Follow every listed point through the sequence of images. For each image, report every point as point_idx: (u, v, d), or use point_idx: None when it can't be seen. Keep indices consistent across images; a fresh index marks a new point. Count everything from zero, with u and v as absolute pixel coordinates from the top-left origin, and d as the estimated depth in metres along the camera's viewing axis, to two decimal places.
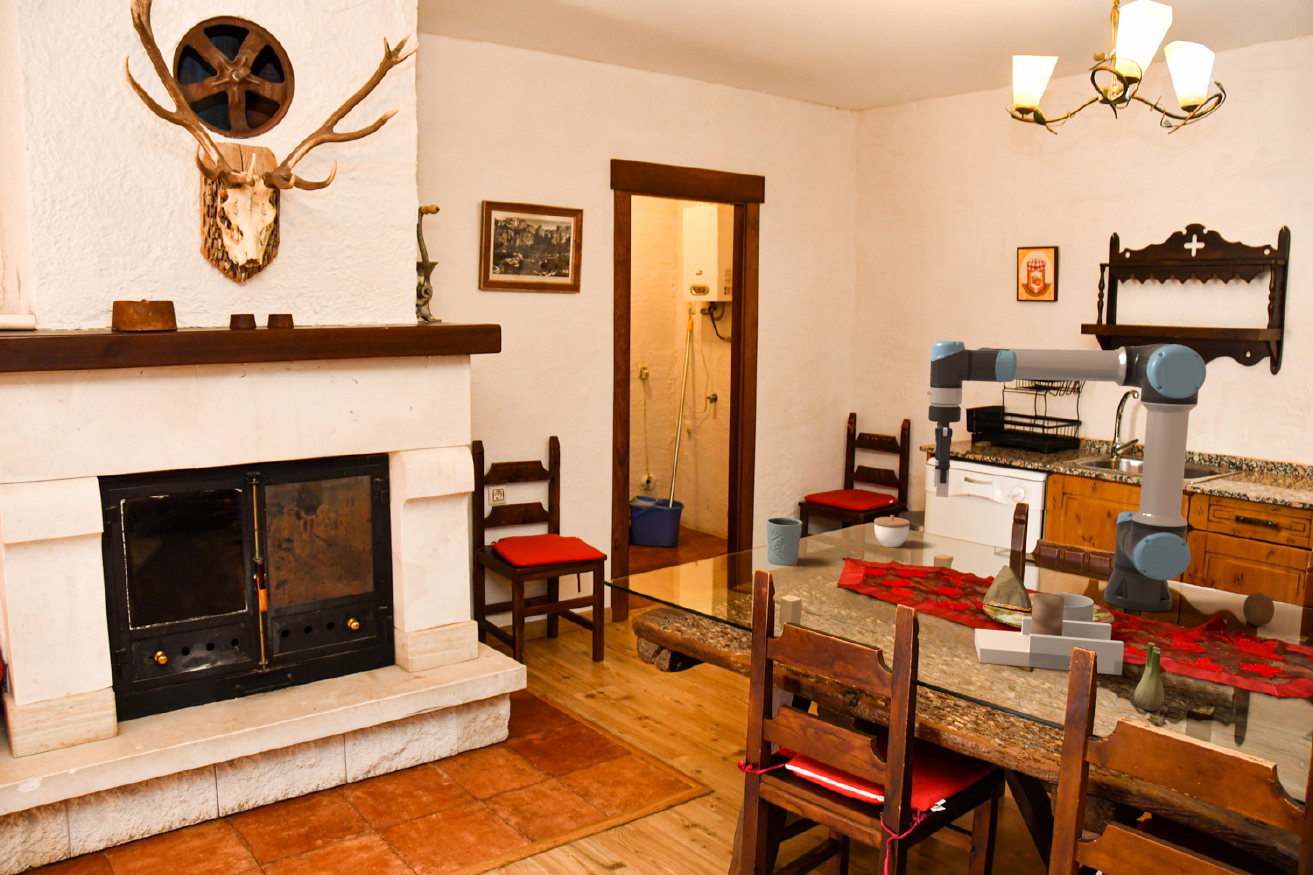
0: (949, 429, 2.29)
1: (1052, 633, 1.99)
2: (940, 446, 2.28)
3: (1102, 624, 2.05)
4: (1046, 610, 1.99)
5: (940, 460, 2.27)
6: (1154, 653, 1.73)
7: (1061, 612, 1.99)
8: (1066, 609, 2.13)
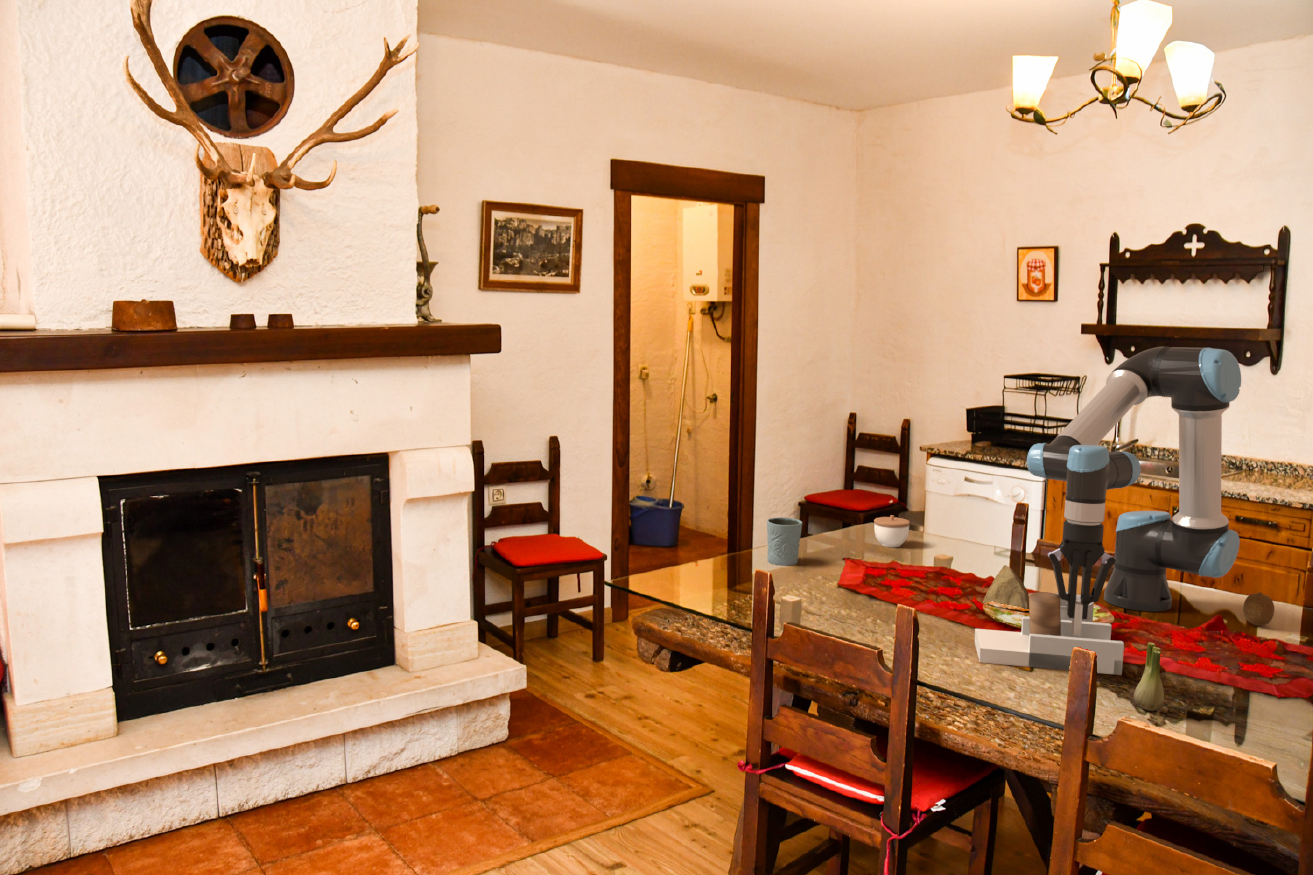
0: (1049, 556, 1.99)
1: (1051, 632, 1.99)
2: (1054, 573, 2.01)
3: (1102, 624, 2.05)
4: (1042, 610, 1.99)
5: None
6: (1154, 653, 1.73)
7: (1058, 610, 1.99)
8: (1066, 609, 2.13)
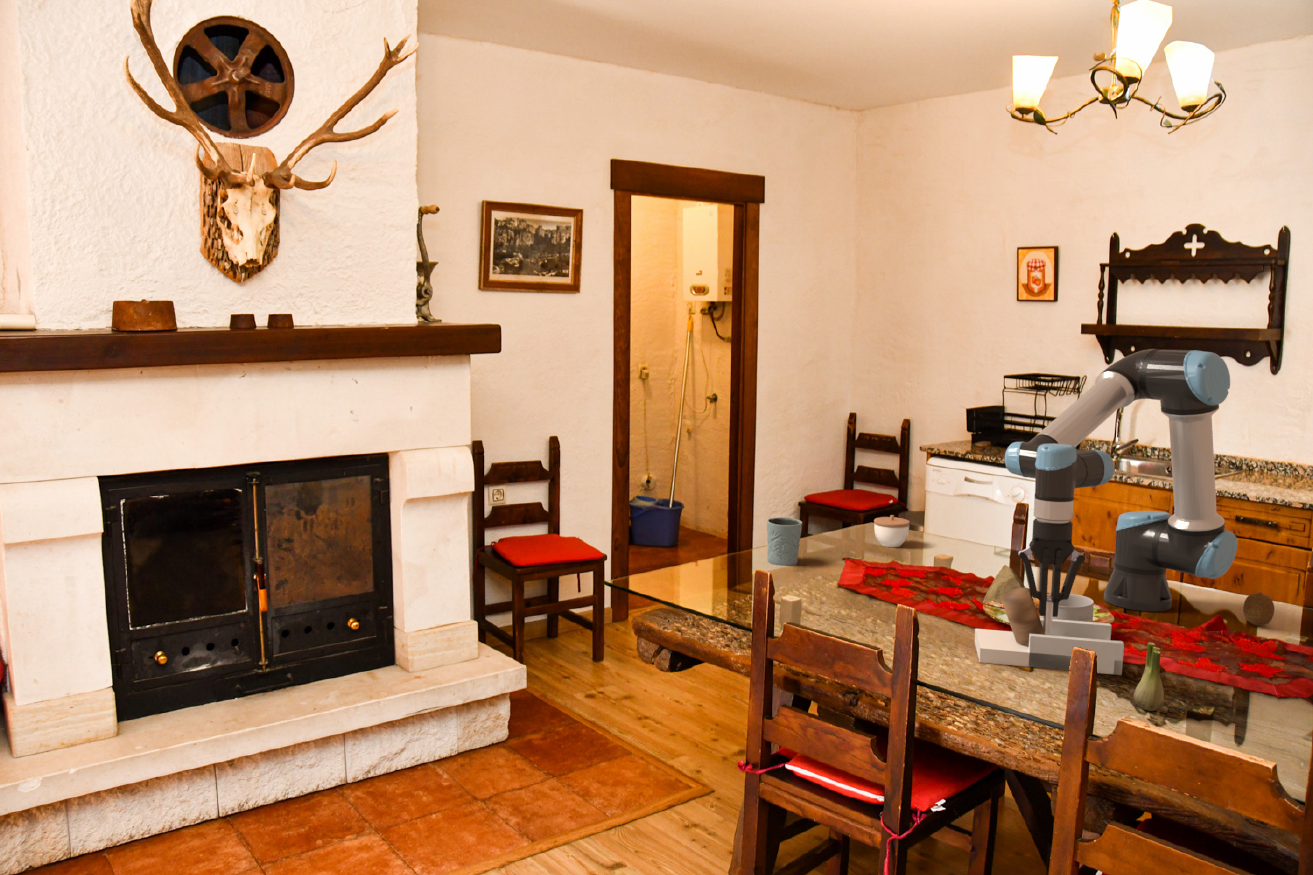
0: (1019, 555, 2.00)
1: (1030, 626, 2.00)
2: None
3: (1102, 624, 2.05)
4: (1015, 607, 2.00)
5: (1029, 588, 2.02)
6: (1154, 653, 1.73)
7: (1031, 603, 2.00)
8: (1066, 609, 2.13)
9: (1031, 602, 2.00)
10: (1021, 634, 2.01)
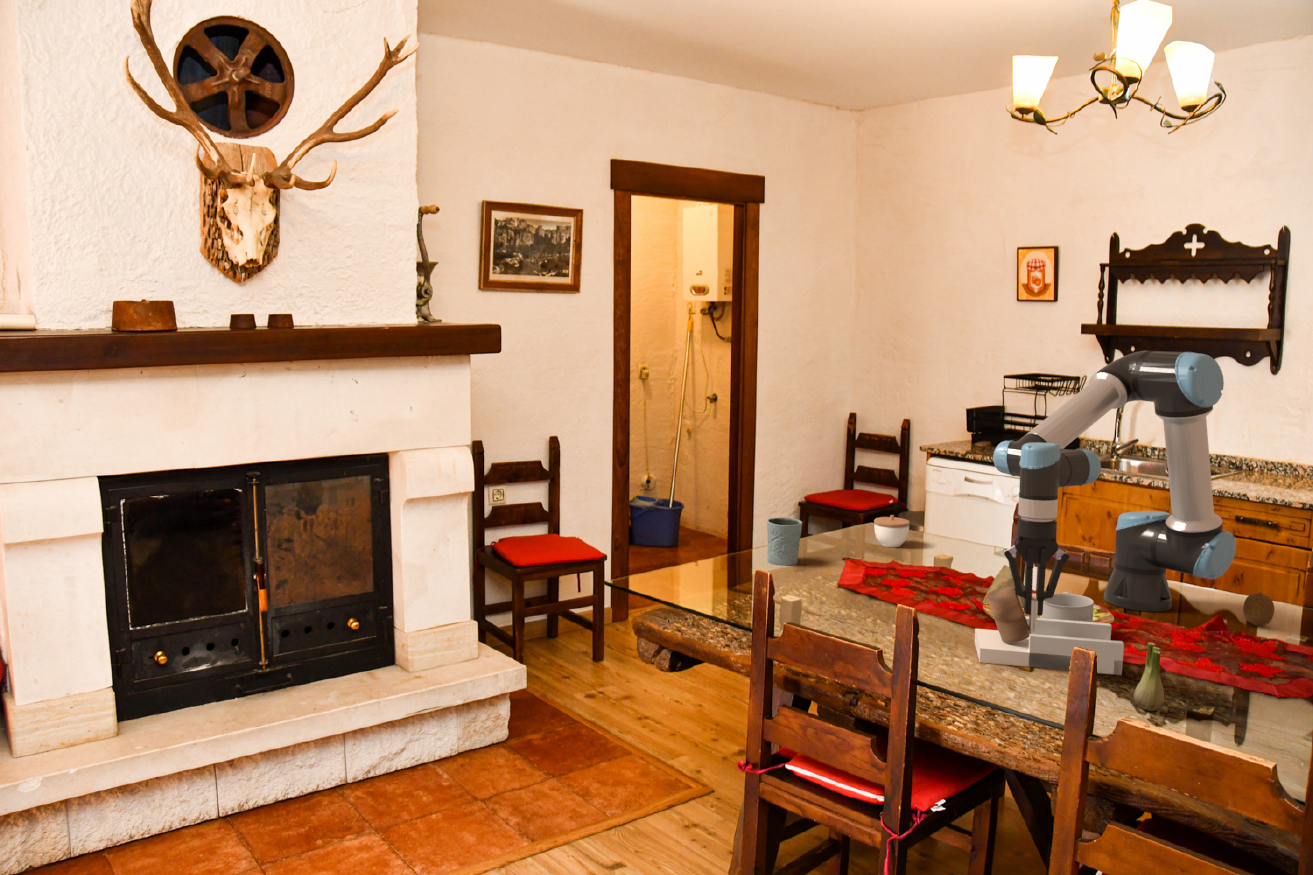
0: None
1: (1015, 626, 2.00)
2: None
3: (1102, 624, 2.05)
4: (1000, 606, 2.01)
5: (1014, 586, 2.03)
6: (1154, 653, 1.73)
7: (1016, 603, 2.01)
8: (1066, 609, 2.13)
9: (1016, 601, 2.01)
10: (1006, 633, 2.01)
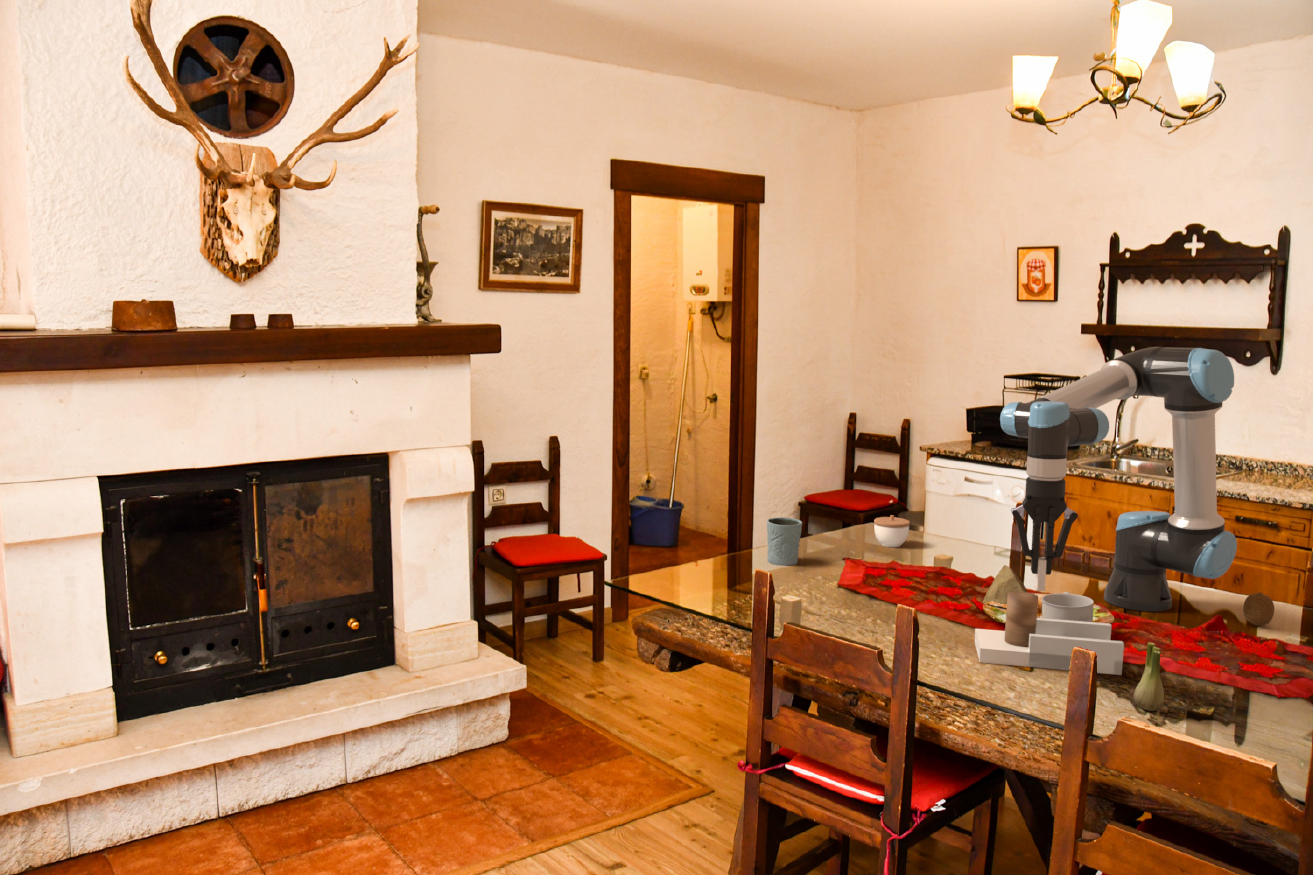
0: (1012, 513, 2.00)
1: (1024, 631, 2.00)
2: (1018, 530, 2.02)
3: (1102, 624, 2.05)
4: (1018, 607, 2.00)
5: None
6: (1154, 653, 1.73)
7: (1034, 610, 2.00)
8: (1066, 609, 2.13)
9: (1035, 609, 2.00)
10: (1013, 635, 2.01)
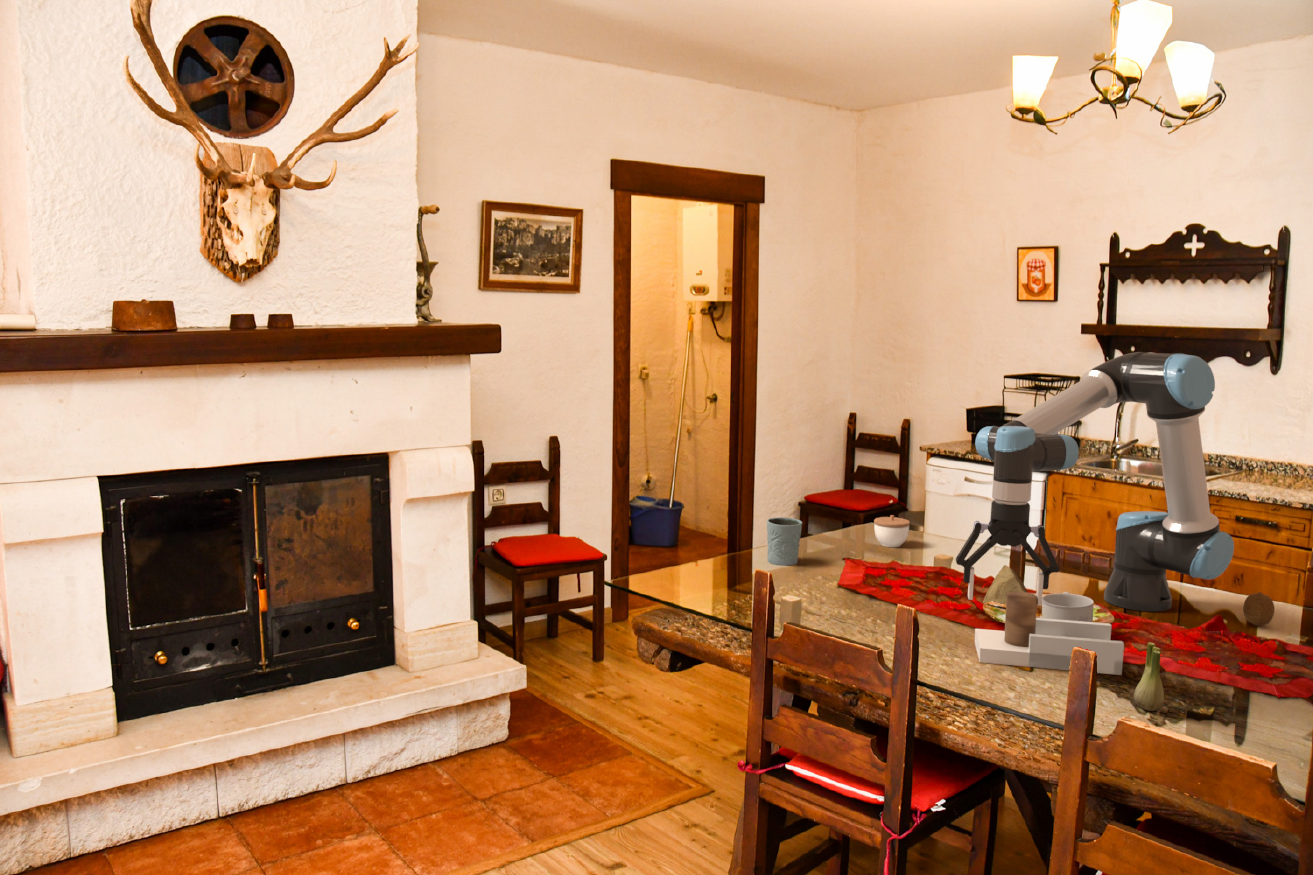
0: (975, 524, 2.02)
1: (1024, 631, 2.00)
2: (967, 540, 2.05)
3: (1102, 624, 2.05)
4: (1017, 608, 2.00)
5: (958, 554, 2.05)
6: (1154, 653, 1.73)
7: (1033, 610, 2.00)
8: (1066, 609, 2.13)
9: (1034, 609, 2.00)
10: (1012, 635, 2.01)
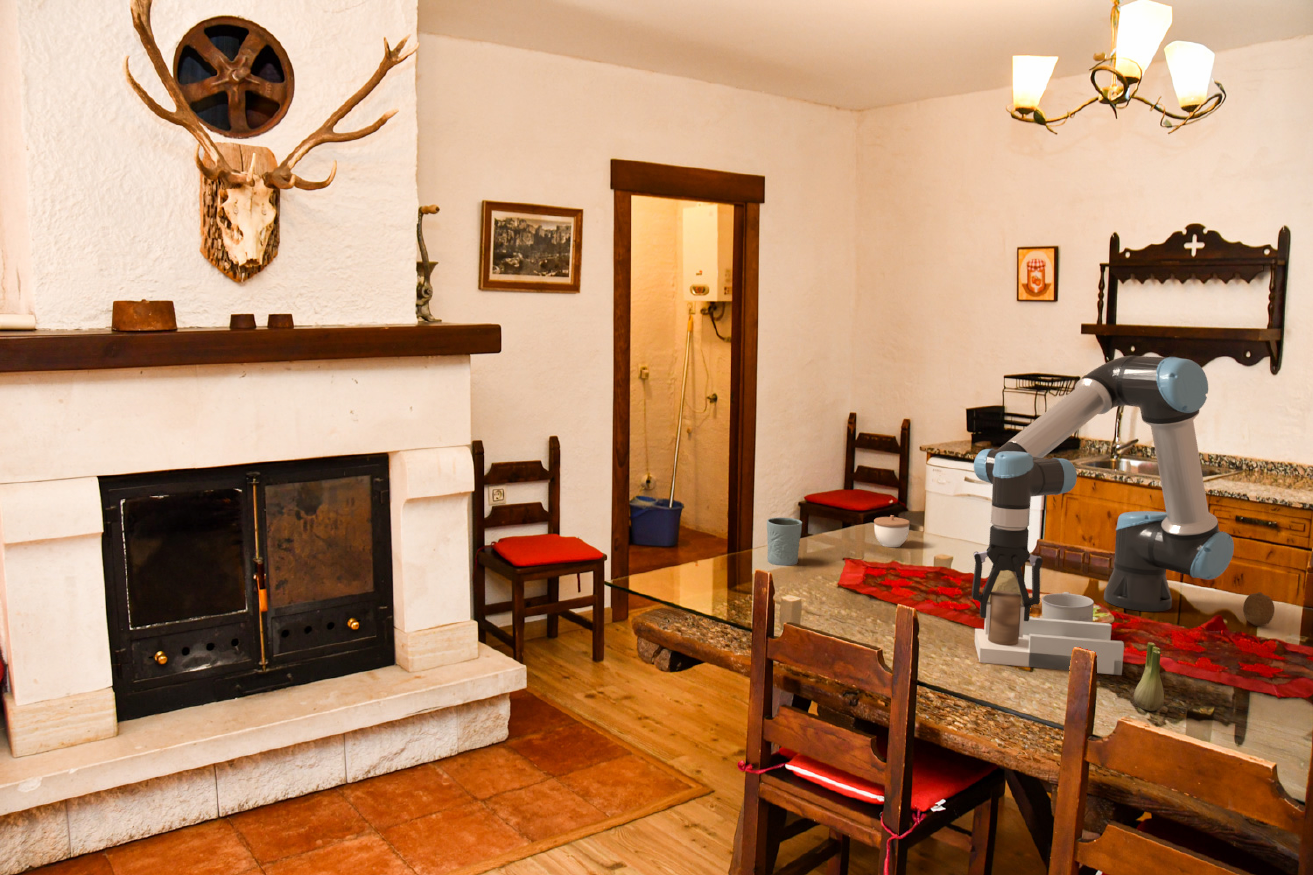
0: (974, 556, 2.03)
1: (1007, 630, 2.01)
2: (974, 573, 2.05)
3: (1102, 624, 2.05)
4: (1001, 607, 2.01)
5: (972, 589, 2.06)
6: (1154, 653, 1.73)
7: (1017, 609, 2.01)
8: (1066, 609, 2.13)
9: (1018, 608, 2.01)
10: (996, 634, 2.02)
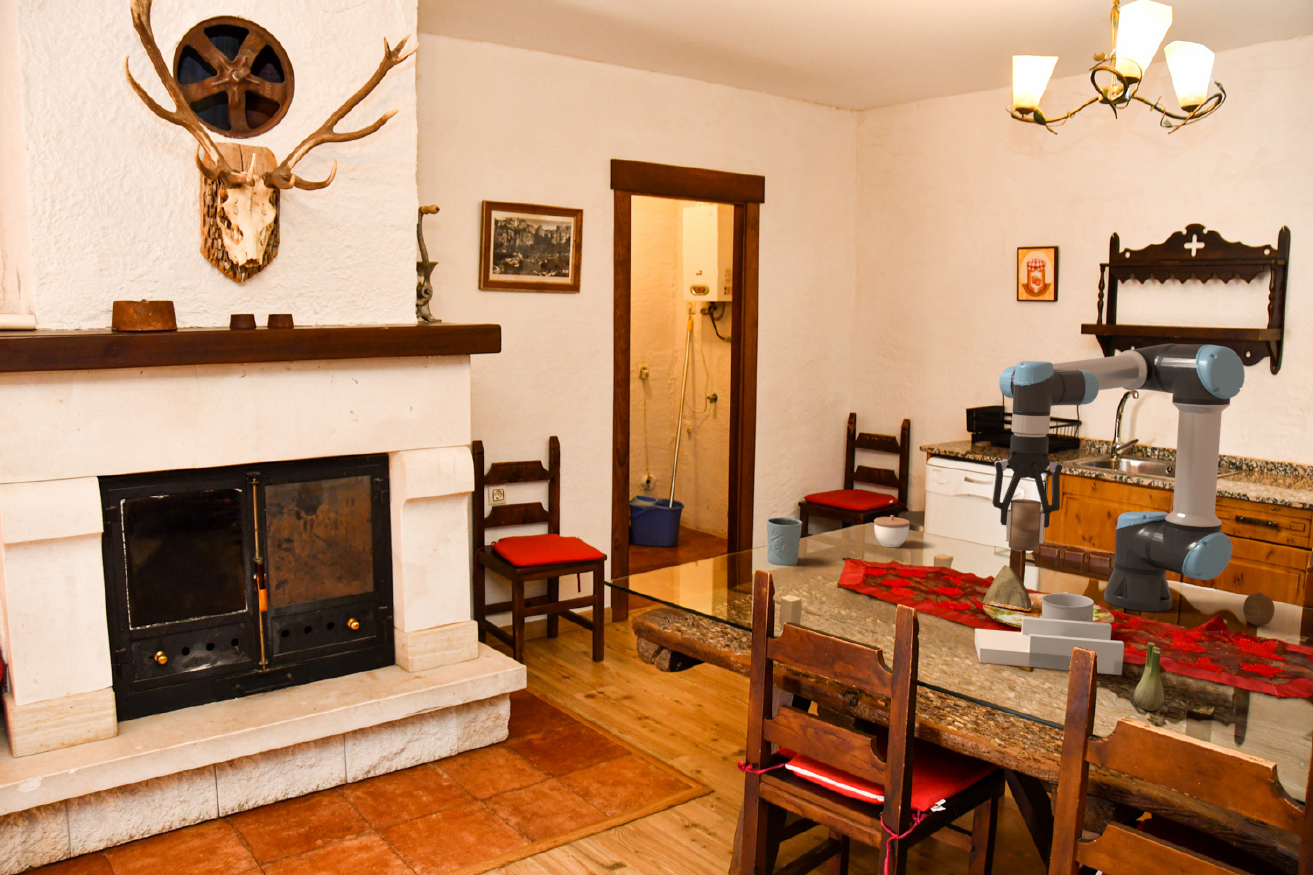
0: (995, 464, 2.07)
1: (1028, 535, 2.05)
2: (995, 482, 2.10)
3: (1102, 624, 2.05)
4: (1022, 513, 2.05)
5: (993, 498, 2.10)
6: (1154, 653, 1.73)
7: (1037, 515, 2.05)
8: (1066, 609, 2.13)
9: (1038, 514, 2.05)
10: (1016, 540, 2.06)
